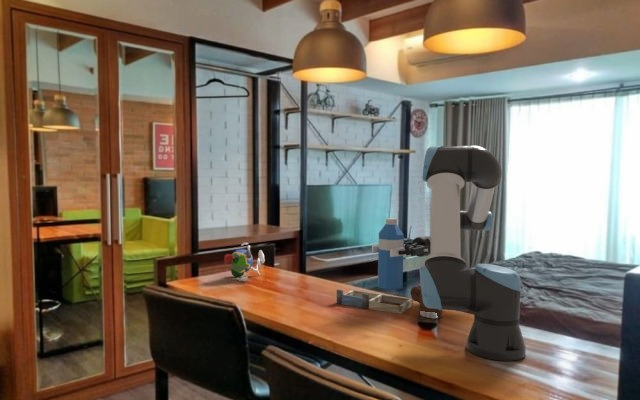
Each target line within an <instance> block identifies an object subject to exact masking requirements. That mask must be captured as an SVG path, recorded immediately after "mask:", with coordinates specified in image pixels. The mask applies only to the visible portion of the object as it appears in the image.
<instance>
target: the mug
mask: <svg viewBox="0 0 640 400" xmlns="http://www.w3.org/2000/svg"><path fill="white" fill-rule="evenodd" d="M409 292H410V297H411V298H412V299H413V301H415V302H418V304H419V312H420V311H425V312H435V313H437V316H438V318H439V319H441V318H442V316H443V310H439V309H433V308H428V307H426V306H425V305H424V303H423V299H422V292H421V287H419V286H413V287H411V289H410V291H409ZM416 292H417V293H418V294H419V296H418V295H417V294H416Z"/></svg>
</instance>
